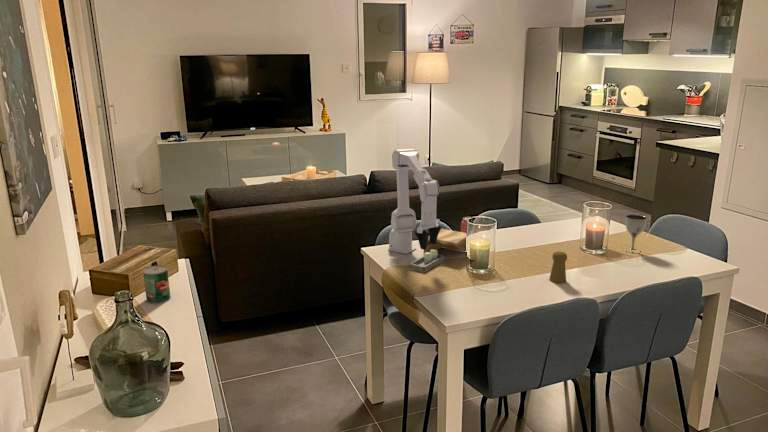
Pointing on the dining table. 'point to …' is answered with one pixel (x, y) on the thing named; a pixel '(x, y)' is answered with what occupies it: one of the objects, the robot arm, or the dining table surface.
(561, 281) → the cork
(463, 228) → the soda can
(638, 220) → the wine glass
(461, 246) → the wooden box
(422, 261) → the tray
